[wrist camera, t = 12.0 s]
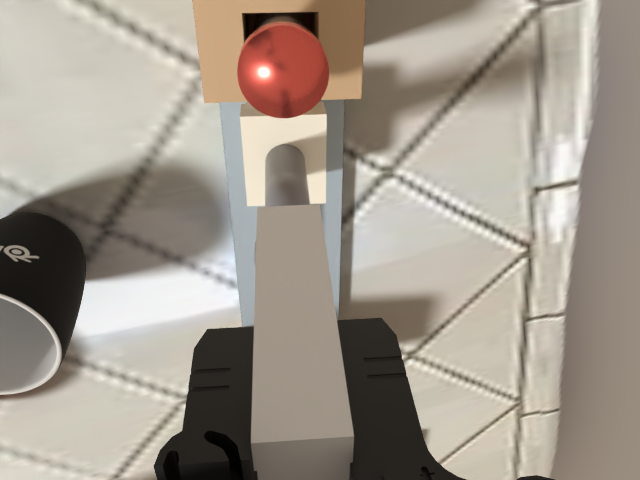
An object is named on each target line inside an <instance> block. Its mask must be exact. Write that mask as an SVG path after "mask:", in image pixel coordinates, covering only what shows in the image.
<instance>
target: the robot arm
mask: <svg viewBox="0 0 640 480" xmlns="http://www.w3.org/2000/svg"><path fill="white" fill-rule="evenodd" d="M154 469H155V473H156V476H157V480H466V479H463V478H460V477H457V476H456V475H454V474H452V473H451V472H449V471H447V470H446V469H444V468H443V467H442V466H441V465H440V464H439V463H438V462H437V461H436V460H435V459H434V458H433V456H432V455H431V453H430V452H429V451H428V448H427V446H426V444H425V441H424V438H423V434H422V431H421V427H420V423H419V419H418V416H417V412H416V408H415V404H414V400H413V397H412V393H411V389H410V385H409V382H408V378H407V377H406V370H405V367H404V363H403V360H402V355H401V351H400V348H399V344H398V340H397V336H396V334H395V333H394V332H393V331H392V330H391V329H390V327H389V326H388V325H387V324H386V323H385V322H384V320H383V319H382V318H372V319H354V320H337V318H336V311H335V304H334V298H333V291H332V284H331V277H330V271H329V264H328V257H327V250H326V244H325V237H324V230H323V223H322V217H321V210H320V204H313V205H290V206H266V207H257V230H256V268H255V306H254V327H237V328H219V329H207V330H206V332H205V333H204V335H203V336H202V338H201V339H200V341H199V342H198V344H197V345H196V347H195V348H194V353H193V360H192V367H191V374H190V381H189V392H188V395H187V402H186V408H185V415H184V422H183V429H182V432H180V433H178V434H176V435H175V436H173V437H172V438H171V439H170V440H169V441H168V442H167V443H166V444H165V445H164V447H163V448H162V449H161V450H160V452H159V454H158V457H157V459H156V462H155V464H154ZM517 480H554V479H550V478H546V477H541V476H537V475H536V476H527V477H520V478H518V479H517Z"/></svg>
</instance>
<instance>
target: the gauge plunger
mask: <svg viewBox="0 0 640 480" xmlns="http://www.w3.org/2000/svg"><path fill="white" fill-rule="evenodd" d="M237 77H238V83H239V87H240V89H241V92H242V94H243V95H244V97H245V99H246V100H247V101H248V102H249V103H250V104H251V105H252V106H253V107H254V108H255V109H256V110H258V111H259V112H261V113H263V114H265V115H268V116H271V117H275V118H292V117H297V116H300V115H302V114H304V113H306V112H308V111H309V110H311V109H312V108H313V107H315V106H316V105H317V104H318V102H319V101H320V100H321V98H322V97H323V95H324V93H325V91H326V89H327V86H328V81H329V66H328V61H327V57H326V54H325V51H324V49H323V46H322V44H321V43H320V41H319V40H318V39H317V37H316V36H315V35H314V34H313V33H312V32H310V31H309V30H308V29H306V25H305V20H304V16H303V13H302V12H280V13H256V15H255V24H254V32H253V33H252V34H251V35H250V36H249V37H248V38H247V40H246V41H245V43H244V44H243V46H242V49H241V51H240V55H239V60H238V68H237Z"/></svg>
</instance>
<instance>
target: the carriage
mask: <svg viewBox="0 0 640 480" xmlns="http://www.w3.org/2000/svg"><path fill="white" fill-rule="evenodd" d="M240 125H241V137H242V149H243V161H244V173H245V186H246V198H247V206H265V207H266V206H290V205H310V204H322V203H326V136H327V113H326V109H325V105H324V102H318V104H317V105H316V106H315V107H313V108H312V109H311V110H309V111H308V112H306V113H304V114H302V115H300V116H297V117H292V118H275V117H271V116H268V115H265V114H263V113H261V112H259V111H258V110H256V109H255V108H254V107H253V106H252V105H251V104H250V103H249V102H246V104H241V110H240ZM325 244H326V243H325ZM254 264H255V268H256V242H255V246H254Z"/></svg>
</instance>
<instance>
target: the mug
mask: <svg viewBox="0 0 640 480" xmlns="http://www.w3.org/2000/svg"><path fill="white" fill-rule="evenodd" d="M85 276H86V259H85V254H84V250H83V248H82V245H81V243H80V241H79V239H78V238H77V237H76V235H75V234H74V233H73V232H72V231H71V230H70V229H69V228H68V227H67V226H65V225H64V224H62V223H61V222H59V221H57V220H55V219H53V218H51V217H48V216H45V215H40V214H34V213H21V214H15V215H11V216H7V217H4V218H2V219H0V395H4V394H15V393H21V392H25V391H28V390H31V389H34V388H36V387H39V386H41V385H42V384H44V383H45V382H47V381H48V380H49V379H50V378H52V377H53V375H54V374H55V373H56V372H57V370H58V368H59V367H60V365H61V363H62V361H63V358H64V356H65V354H66V351H67V348H68V345H69V343H70V340H71V337H72V333H73V330H74V327H75V323H76V320H77V316H78V312H79V308H80V304H81V300H82V295H83V290H84V284H85Z"/></svg>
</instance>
